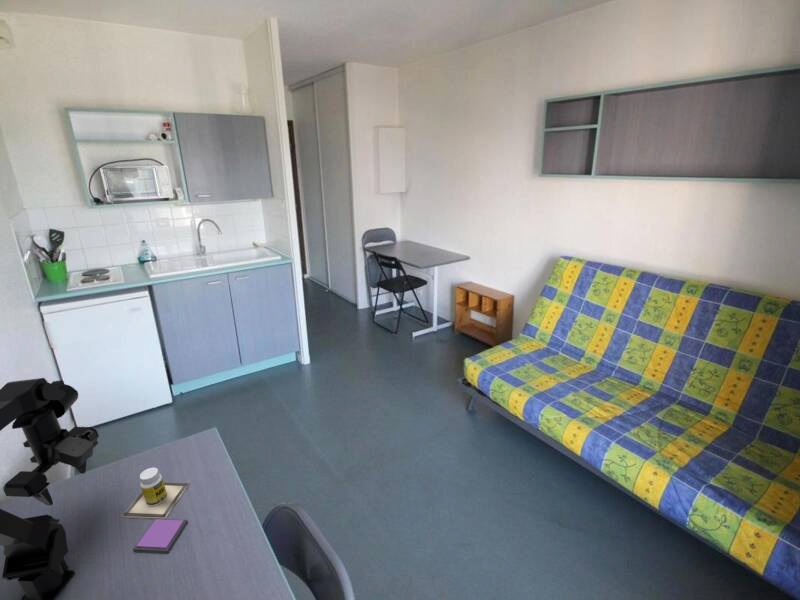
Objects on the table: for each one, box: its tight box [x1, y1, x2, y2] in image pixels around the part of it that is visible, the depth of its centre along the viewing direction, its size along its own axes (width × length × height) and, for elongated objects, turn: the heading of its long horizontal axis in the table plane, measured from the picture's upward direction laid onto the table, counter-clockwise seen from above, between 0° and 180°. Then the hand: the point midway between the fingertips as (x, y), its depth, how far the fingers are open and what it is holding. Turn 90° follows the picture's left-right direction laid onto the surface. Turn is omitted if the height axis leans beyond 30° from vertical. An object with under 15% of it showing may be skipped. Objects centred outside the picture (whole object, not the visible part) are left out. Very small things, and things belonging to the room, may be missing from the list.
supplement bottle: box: [139, 467, 167, 506], centre depth 106 cm, size 5×5×8 cm
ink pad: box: [132, 518, 189, 554], centre depth 97 cm, size 8×8×1 cm
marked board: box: [121, 481, 190, 520], centre depth 107 cm, size 11×11×1 cm
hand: (67, 488), depth 96 cm, fingers open, 9 cm apart
